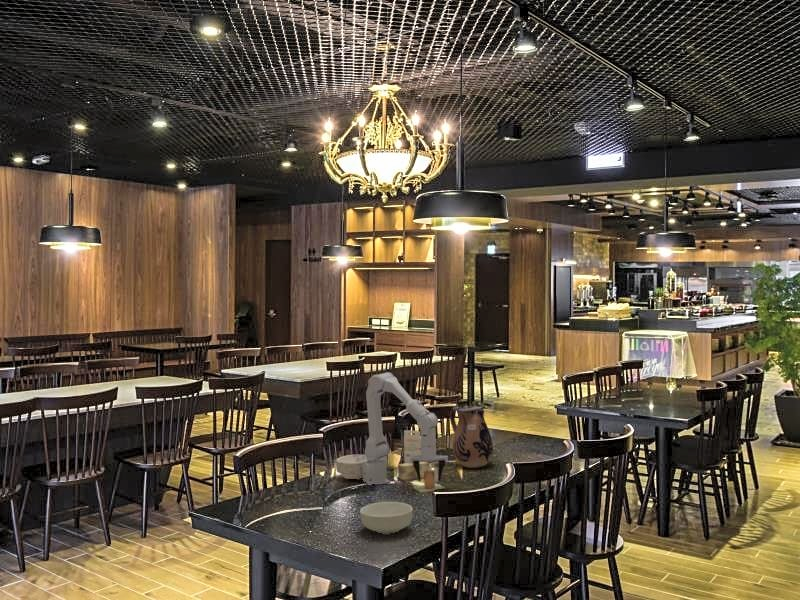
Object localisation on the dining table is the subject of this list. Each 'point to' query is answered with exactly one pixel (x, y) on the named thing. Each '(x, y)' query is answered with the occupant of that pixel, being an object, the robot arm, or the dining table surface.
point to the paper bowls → (351, 466)
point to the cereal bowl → (386, 516)
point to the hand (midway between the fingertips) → (429, 480)
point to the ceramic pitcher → (471, 437)
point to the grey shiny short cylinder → (434, 472)
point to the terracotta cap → (429, 479)
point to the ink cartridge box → (411, 445)
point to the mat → (423, 489)
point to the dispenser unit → (411, 471)
